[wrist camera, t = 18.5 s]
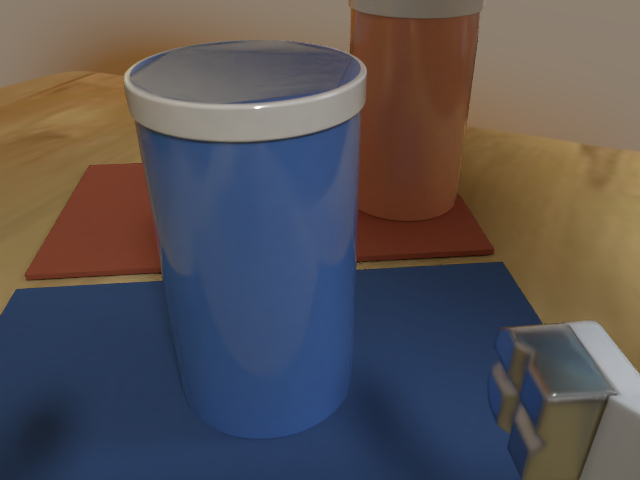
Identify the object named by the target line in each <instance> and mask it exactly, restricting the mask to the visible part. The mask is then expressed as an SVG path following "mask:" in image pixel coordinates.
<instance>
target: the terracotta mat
mask: <svg viewBox="0 0 640 480" xmlns="http://www.w3.org/2000/svg"><path fill="white" fill-rule="evenodd" d="M493 253H494V248H493V246H492V245H491V243H490V242H489V240H488V239H487V237H486V235H485V234H484V232H483V231H482V229H481V228H480V226H479V225H478V223H477V222H476V220H475V218H474V217H473V215H472V214H471V212H470V211H469V209H468V208H467V206H466V205H465V203H464V201H463V200H462V198H461V197H460V195H459V194H458V193H457V200H456V203H455V205H454V206H453V208H452V209H451V210H450V211H448V212H447V213H445V214H443V215H441V216H438V217H435V218H432V219H428V220H421V221H394V220H387V219H382V218H378V217H375V216H372V215H369V214H367V213H364V212H362V211H360V210H359V209H358V237H357V262H361V261H379V260H397V259H416V258H434V257H452V256H470V255H488V254H493ZM144 273H162V272H161V266H160V261H159V255H158V250H157V244H156V238H155V233H154V227H153V221H152V216H151V210H150V205H149V199H148V193H147V188H146V182H145V176H144V171H143V165H142V163H132V164H108V165H89V167H88V168H87V170H86V172H85V173H84V175H83V177H82V179H81V180H80V182H79V184H78V185H77V187H76V189H75V190H74V192H73V194H72V195H71V197H70V199H69V201H68V202H67V204H66V206H65V207H64V209H63V211H62V212H61V214H60V216H59V217H58V219H57V221H56V223H55V224H54V226H53V228H52V229H51V231H50V233H49V234H48V236H47V238H46V240H45V241H44V243H43V245H42V246H41V248H40V250H39V251H38V253H37V255H36V256H35V258H34V260H33V262H32V263H31V265H30V267H29V268H28V270H27V272H26V273H25V276H26V279H27V280H35V279H53V278H71V277H89V276H108V275H126V274H144Z"/></svg>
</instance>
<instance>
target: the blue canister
mask: <svg viewBox="0 0 640 480" xmlns="http://www.w3.org/2000/svg"><path fill="white" fill-rule="evenodd" d="M123 84H124V90H125V95H126V101H127V106H128V111H129V113H130V115H131V116H132V118H133V119H134V120H135V126H136V131H137V137H138V143H139V148H140V154H141V160H142V165H143V171H144V176H145V182H146V188H147V193H148V199H149V205H150V210H151V216H152V221H153V227H154V233H155V238H156V244H157V250H158V255H159V261H160V266H161V272H162V278H163V283H164V289H165V295H166V300H167V306H168V311H169V317H170V323H171V328H172V334H173V340H174V345H175V351H176V356H177V362H178V368H179V373H180V379H181V385H182V390H183V394H184V397H185V400H186V402H187V404H188V406H189V407H190V409H191V410H192V411H193V412H194V414H195V415H196V416H197V417H198V418H200V419H201V420H202V421H203V422H204V423H206V424H207V425H209V426H210V427H212V428H214V429H216V430H218V431H220V432H223V433H226V434H229V435H232V436H236V437H241V438H249V439H273V438H280V437H285V436H290V435H294V434H297V433H300V432H302V431H305V430H307V429H309V428H311V427H314V426H316V425H317V424H319V423H320V422H322V421H324V420H325V419H326V418H328V417H329V416H330V415H331V414H332V413H334V412H335V411H336V409H337V408H338V407H339V406H340V405H341V404H342V402H343V401H344V399H345V398H346V396H347V394H348V392H349V390H350V387H351V383H352V377H353V354H354V325H355V296H356V266H357V237H358V208H359V178H360V149H361V120H362V108H363V106H364V104H365V102H366V93H367V69H366V66H365V64H364V63H363V62H362V61H361V60H360V59H359V58H357V57H356V56H354V55H352V54H350V53H347V52H344V51H342V50H338V49H335V48H332V47H327V46H323V45H317V44H311V43H304V42H294V41H279V40H240V41H224V42H214V43H205V44H198V45H192V46H186V47H181V48H177V49H172V50H168V51H165V52H161V53H158V54H155V55H153V56H150V57H148V58H145V59H143V60H141V61H139V62H137V63H135V64H134V65H132V66H131V67H130V68H129V69H128V70H127V71H126V72H125V75H124V77H123Z"/></svg>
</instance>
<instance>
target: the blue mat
mask: <svg viewBox="0 0 640 480" xmlns="http://www.w3.org/2000/svg"><path fill="white" fill-rule="evenodd" d="M540 324H542V322H541V320H540V319H539V317H538V316H537V314H536V313H535V311H534V310H533V308H532V307H531V305H530V303H529V302H528V300H527V299H526V297H525V296H524V294H523V293H522V291H521V290H520V288H519V286H518V285H517V283H516V282H515V280H514V279H513V277H512V276H511V274H510V273H509V271H508V269H507V268H506V266H505V265H504V263H503V262H489V263H471V264H453V265H435V266H418V267H400V268H382V269H364V270H356V296H355V325H354V354H353V377H352V383H351V387H350V390H349V392H348V394H347V396H346V398H345V399H344V401H343V402H342V404H341V405H340V406H339V407H338V408H337V409H336V411H335V412H334V413H332V414H331V415H330V416H329V417H328V418H326V419H325V420H324V421H322V422H320V423H319V424H317V425H316V426H314V427H311V428H309V429H307V430H305V431H302V432H300V433H297V434H294V435H290V436H285V437H280V438H273V439H249V438H241V437H236V436H232V435H229V434H226V433H223V432H220V431H218V430H216V429H214V428H212V427H210V426H209V425H207V424H206V423H204V422H203V421H202V420H201V419H200V418H198V417H197V416H196V415H195V414H194V412H193V411H192V410H191V409H190V407H189V406H188V404H187V402H186V400H185V397H184V394H183V390H182V385H181V379H180V373H179V368H178V362H177V356H176V351H175V345H174V340H173V334H172V328H171V323H170V317H169V311H168V306H167V300H166V295H165V289H164V283H163V281H151V282H133V283H116V284H98V285H80V286H62V287H45V288H27V289H16V290H15V292H14V294H13V295H12V297H11V299H10V301H9V302H8V304H7V306H6V307H5V309H4V311H3V312H2V314H1V316H0V480H521V478H520V476H519V473H518V471H517V469H516V467H515V465H514V462H513V460H512V458H511V456H510V454H509V451H508V449H507V446H508V442H509V438H510V434H508V433H507V432H506V431H504V430H503V429H502V428H500V427H499V426H497V424H496V422H495V419H494V417H493V415H492V412H491V409H490V405H489V401H488V392H487V379H488V373H489V367H490V366H491V365H492V364H493V363H494V362H495V361H496V360H497V359H498V358H499V356H498V354H497V352H496V350H495V348H494V342H495V338H496V334H497V332H498V331H499V329H500V327H511V326H525V325H540Z"/></svg>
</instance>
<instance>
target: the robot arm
mask: <svg viewBox="0 0 640 480" xmlns="http://www.w3.org/2000/svg"><path fill="white" fill-rule="evenodd" d="M494 348H495V350H496V352H497V354H498V356H499V358H498V359H497V360H496V361H495V362H494V363H493V364H492V365H491V366H490V367H489V373H488V379H487V392H488V401H489V405H490V409H491V412H492V415H493V417H494V419H495V422H496V424H497V426H499V427H500V428H502V429H503V430H504V431H506V432H507V433H508V434H510V438H509V442H508V446H507V449H508V451H509V454H510V456H511V458H512V460H513V462H514V465H515V467H516V469H517V471H518V473H519V476H520V478H521V480H640V374H639V373H638V372H637V371H636V369H635V368H634V367H633V366H632V364H631V363H630V362H629V360H628V359H627V358H626V357H625V355H624V354H623V353H622V352H621V350H620V349H619V348H618V347H617V345H616V344H615V343H614V341H613V340H612V339H611V338H610V336H609V335H608V334H607V333H606V331H605V330H604V329H603V328H602V326H601V325H600V324H599V323H597V322H595V321H593V320H586V321H573V322H562V323H561V324H560V323H555V324H540V325H525V326H511V327H500V329H499V331H498V332H497V334H496V338H495V342H494Z"/></svg>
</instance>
